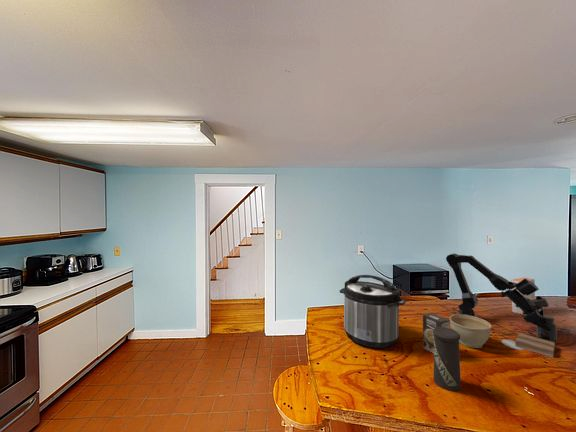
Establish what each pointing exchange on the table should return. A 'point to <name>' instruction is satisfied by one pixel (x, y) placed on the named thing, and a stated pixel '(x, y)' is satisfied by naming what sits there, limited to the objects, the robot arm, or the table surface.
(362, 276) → the pressure cooker
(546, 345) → the light brown block
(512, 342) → the grey coaster
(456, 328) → the planter bowl
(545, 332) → the supplement bottle
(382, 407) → the table surface
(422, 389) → the table surface
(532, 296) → the cracker box
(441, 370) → the container
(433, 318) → the coffee box
